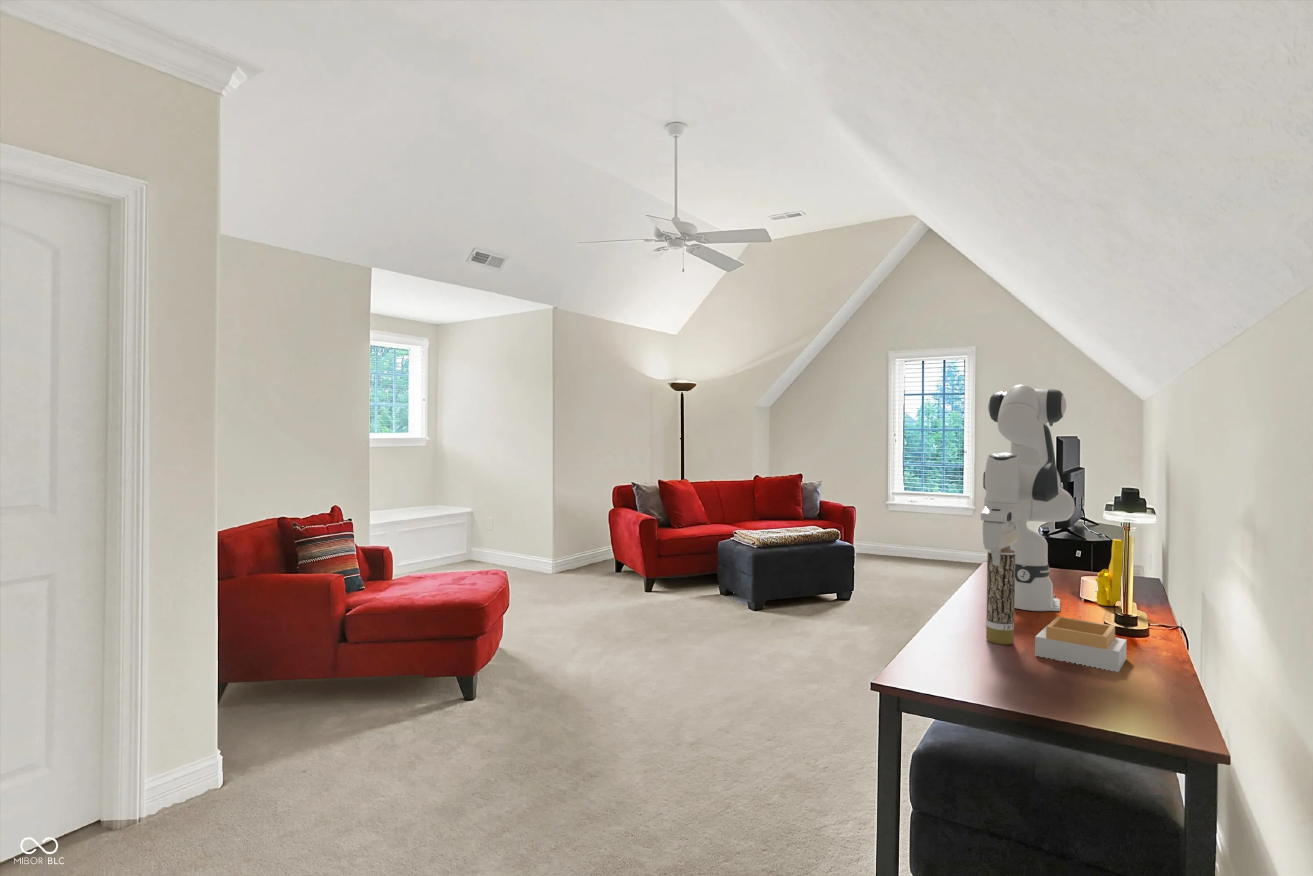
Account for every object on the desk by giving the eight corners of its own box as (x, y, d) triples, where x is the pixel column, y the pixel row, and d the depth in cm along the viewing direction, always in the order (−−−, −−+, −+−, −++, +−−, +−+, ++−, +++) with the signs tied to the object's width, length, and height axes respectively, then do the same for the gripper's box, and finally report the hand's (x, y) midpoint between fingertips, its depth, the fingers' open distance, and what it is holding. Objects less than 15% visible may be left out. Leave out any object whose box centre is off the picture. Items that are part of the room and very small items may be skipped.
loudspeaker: (1046, 644, 188) (1046, 614, 188) (1126, 659, 176) (1126, 627, 176) (1034, 655, 178) (1035, 624, 178) (1118, 672, 166) (1119, 639, 166)
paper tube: (982, 641, 189) (984, 550, 189) (990, 636, 194) (992, 547, 194) (1009, 647, 185) (1011, 553, 184) (1017, 641, 190) (1018, 550, 189)
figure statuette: (1089, 598, 240) (1091, 534, 240) (1116, 600, 237) (1117, 536, 237) (1101, 610, 224) (1102, 542, 223) (1129, 613, 221) (1131, 544, 220)
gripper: (1000, 508, 199) (999, 556, 199) (978, 514, 183) (977, 566, 184) (1024, 510, 195) (1023, 559, 195) (1004, 516, 179) (1003, 570, 180)
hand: (1001, 563), depth 189 cm, fingers closed on paper tube, 7 cm apart
